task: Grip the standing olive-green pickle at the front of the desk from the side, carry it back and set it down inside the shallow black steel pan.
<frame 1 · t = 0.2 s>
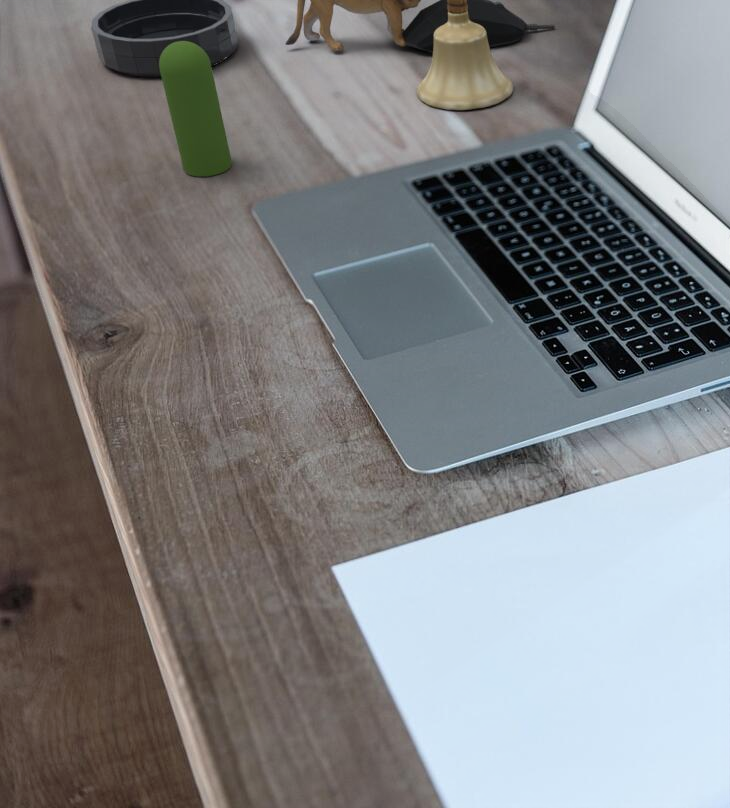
hand bell: (465, 93, 105), on the table
gaming mouse: (480, 40, 115), on the table, touching lion figurine
pan: (171, 53, 112), on the table
pickle: (208, 166, 93), on the table
lion figurine: (371, 42, 114), on the table, touching gaming mouse
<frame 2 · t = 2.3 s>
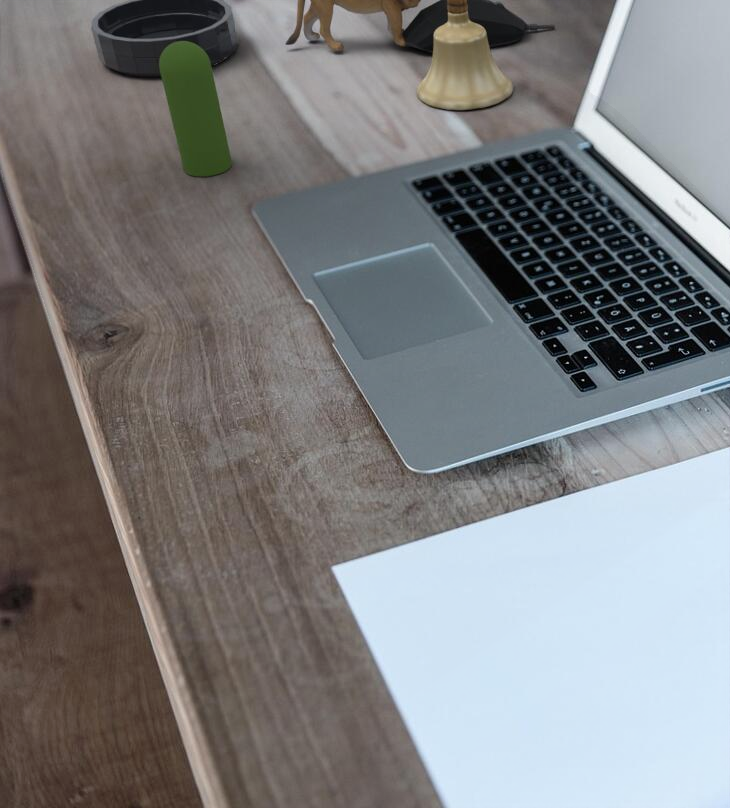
nothing on the table moved.
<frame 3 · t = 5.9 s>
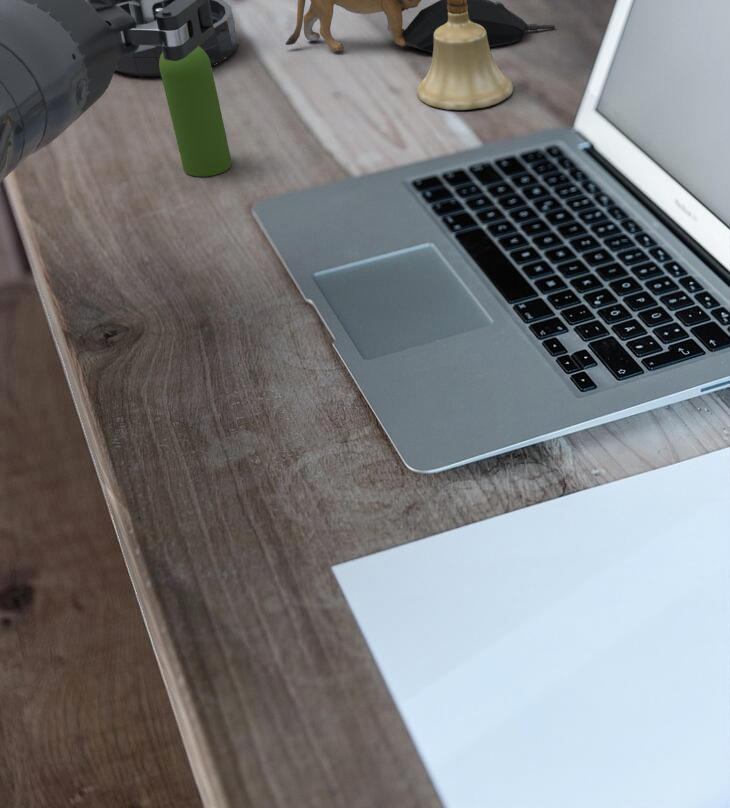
nothing on the table moved.
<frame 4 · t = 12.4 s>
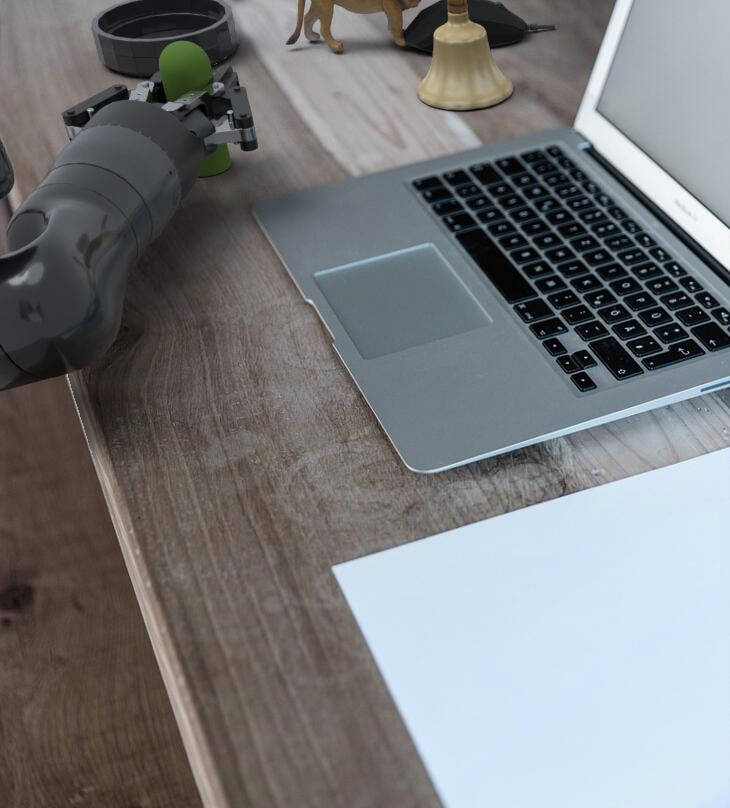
hand: (201, 77, 92), 6 cm above the table, tool horizontal, fingers closed on pickle, 3 cm apart
pickle: (207, 166, 93), on the table, touching gripper
everything else where it was.
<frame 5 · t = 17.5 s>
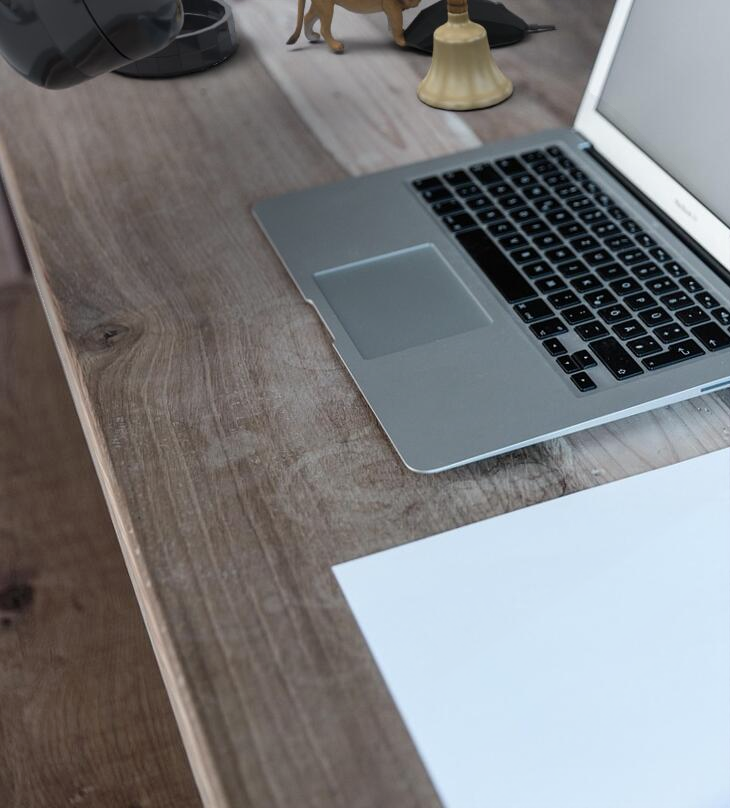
when the fingers open (7 cm above the table, at t = 22.9 s): pickle stays where it is, resting on pan.
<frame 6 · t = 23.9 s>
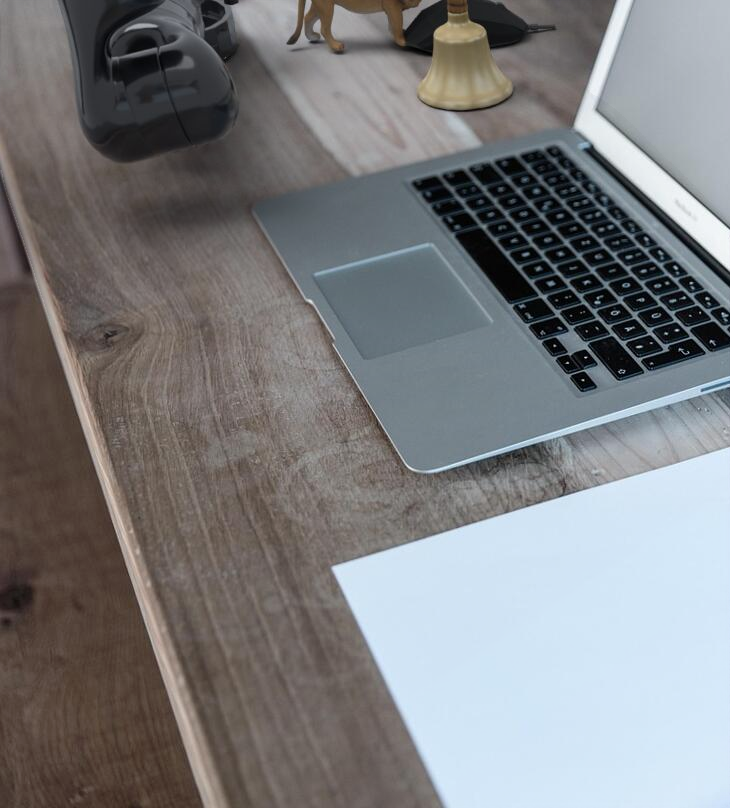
pickle: (171, 48, 111), resting on pan
everything else where it was.
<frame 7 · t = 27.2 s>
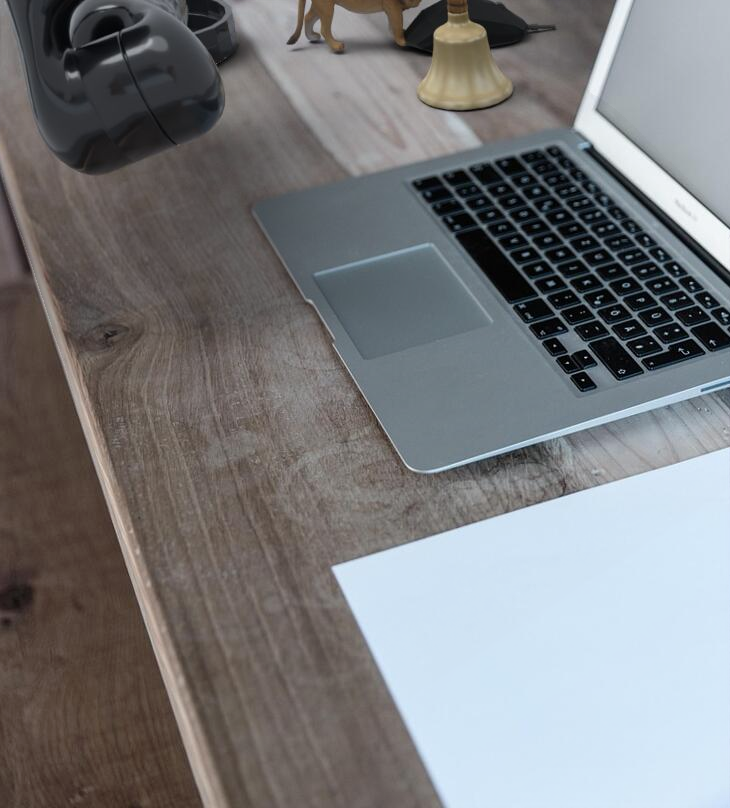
nothing on the table moved.
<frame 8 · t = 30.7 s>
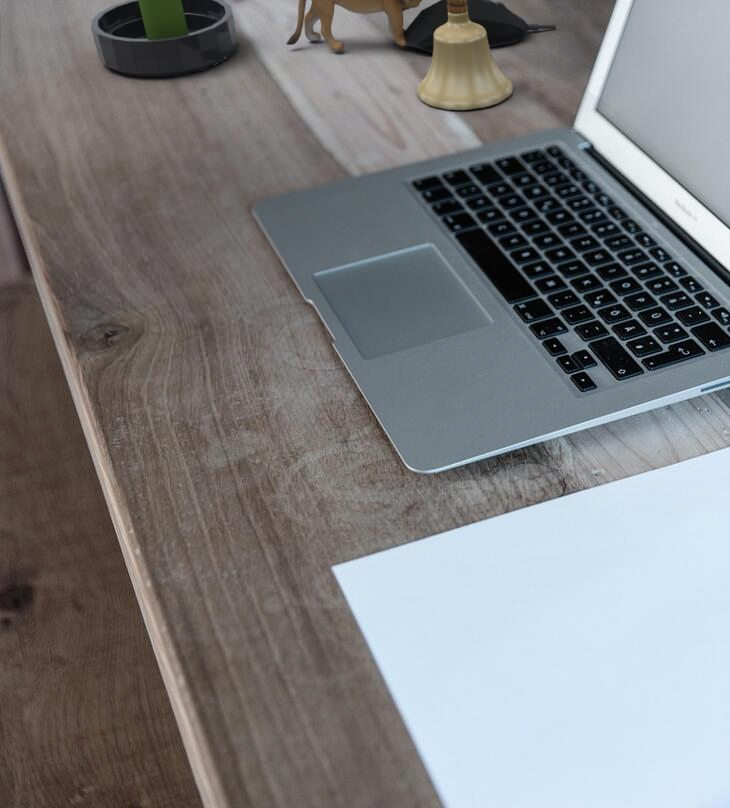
nothing on the table moved.
at the end: pickle inside the target area in the pan (0.1 cm from its centre), point 0.5 cm above the pan's base; the gripper is holding nothing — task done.
